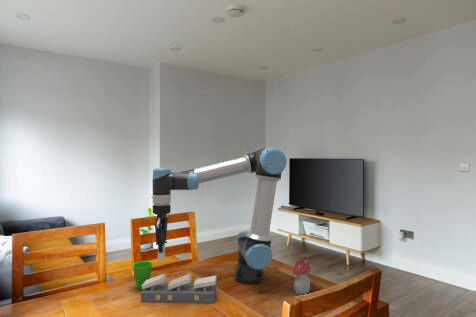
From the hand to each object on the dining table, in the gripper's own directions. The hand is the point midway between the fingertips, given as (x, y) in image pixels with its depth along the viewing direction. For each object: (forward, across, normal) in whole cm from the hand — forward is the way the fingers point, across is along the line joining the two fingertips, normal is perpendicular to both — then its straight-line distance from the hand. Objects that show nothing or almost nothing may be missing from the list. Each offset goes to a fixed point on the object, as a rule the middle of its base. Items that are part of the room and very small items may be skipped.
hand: (161, 259), depth 134 cm
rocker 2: (+9, 0, +8) cm, 12 cm away
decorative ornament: (+16, -7, +61) cm, 64 cm away
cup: (+17, -9, -11) cm, 22 cm away
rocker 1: (+9, 0, -3) cm, 10 cm away
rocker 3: (+9, 0, +19) cm, 21 cm away
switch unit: (+16, 0, +8) cm, 18 cm away
